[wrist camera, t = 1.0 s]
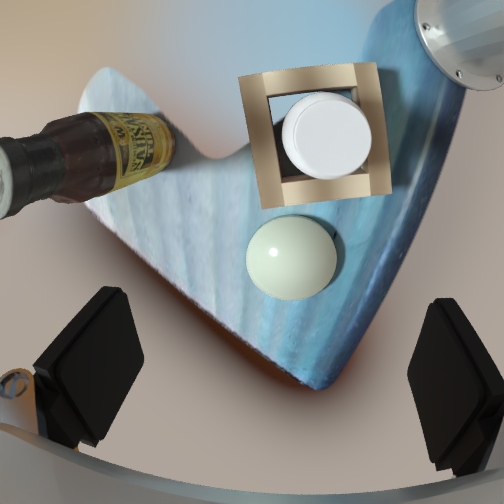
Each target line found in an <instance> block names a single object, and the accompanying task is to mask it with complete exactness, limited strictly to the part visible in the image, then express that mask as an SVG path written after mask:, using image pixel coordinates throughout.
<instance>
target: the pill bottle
mask: <svg viewBox="0 0 504 504" xmlns="http://www.w3.org/2000/svg"><path fill="white" fill-rule="evenodd" d="M282 142H283V146H284V149H285V151H286V153H287V155H288V157H289V159H290V160H291V161H292V163H293V164H294V165H295V166H296V167H297V168H298V169H299V170H301V171H302V172H304V173H305V174H307V175H309V176H311V177H314V178H317V179H323V180H334V179H339V178H343V177H345V176H347V175H350V174H351V173H353V172H354V171H356V170H357V169H358V168H359V167H360V166H361V165H362V164H363V162H364V161H365V160H366V158H367V156H368V154H369V152H370V149H371V142H372V136H371V130H370V126H369V123H368V121H367V118H366V116H365V115H364V113H363V112H362V110H361V109H360V108H359V107H358V106H357V105H356V104H355V103H354V102H353V101H351V100H350V99H348V98H346V97H344V96H342V95H339V94H336V93H330V92H319V93H314V94H311V95H308V96H306V97H304V98H302V99H300V100H299V101H298V102H296V103H295V104H294V105H293V106H292V107H291V109H290V110H289V111H288V113H287V115H286V117H285V119H284V122H283V127H282Z"/></svg>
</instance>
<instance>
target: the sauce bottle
mask: <svg viewBox="0 0 504 504" xmlns="http://www.w3.org/2000/svg"><path fill="white" fill-rule="evenodd" d="M174 153H175V136H174V134H173V131H172V129H171V128H170V126H169V125H168V124H166V123H165V121H163V120H161V119H160V118H159V117H157V116H154V115H151V114H144V113H112V112H84V113H80V114H76V115H72V116H69V117H65V118H61V119H58V120H54V121H52V122H50V123H47V125H46V126H45V127H44V128H43V130H42V131H41V132H40V133H39V134H34V135H32V136H30V137H23V138H19V139H14V138H11V137H2V138H0V220H1V219H4V218H6V217H9V216H14V215H16V214H17V213H18V212H19V211H20V210H21V209H22V208H23V207H24V206H26V205H28V204H30V203H33V202H35V201H38V200H40V199H41V200H44V199H47V198H51V199H52V200H54V201H55V202H58V203H61V202H62V203H68V204H69V203H81V202H84V201H88V200H90V199H92V198H94V197H100V196H103V195H105V194H108V193H110V192H113V191H115V190H118V189H121V188H123V187H126V186H128V185H131V184H133V183H136V182H138V181H140V180H143V179H146V178H149V177H151V176H153V175H156V174H157V173H159V172H160V171H162V170H163V169H165V168H166V167H167V166H168V164H169V163H170V162H171V160H172V158H173V156H174Z"/></svg>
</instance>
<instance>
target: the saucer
mask: <svg viewBox="0 0 504 504" xmlns="http://www.w3.org/2000/svg"><path fill="white" fill-rule="evenodd" d="M246 263H247V269H248V272H249V275H250V277H251V279H252V280H253V282H254V283H255V284H256V286H257V287H259V288H260V289H261V290H262V291H263V292H265V293H266V294H268V295H270V296H272V297H274V298H278V299H282V300H301V299H305V298H308V297H311V296H313V295H315V294H317V293H318V292H319V291H321V290H322V289H323V288H324V287H325V286H326V285H327V284H328V283H329V282H330V280H331V278H332V277H333V274H334V272H335V269H336V264H337V254H336V249H335V246H334V243H333V240H332V238H331V236H330V235H329V233H328V232H327V231H326V229H325V228H324V227H323V226H321V225H320V224H319V223H318V222H316V221H314V220H312V219H310V218H308V217H305V216H300V215H284V216H279V217H276V218H273V219H271V220H269V221H267V222H266V223H264V224H263V225H262V226H261V227H259V229H258V230H257V231H256V232H255V233H254V235H253V236H252V238H251V241H250V243H249V246H248V250H247V255H246Z"/></svg>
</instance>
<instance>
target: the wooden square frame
mask: <svg viewBox="0 0 504 504" xmlns="http://www.w3.org/2000/svg"><path fill="white" fill-rule="evenodd" d="M238 80H239V85H240V91H241V96H242V101H243V107H244V112H245V117H246V123H247V128H248V133H249V139H250V145H251V150H252V156H253V161H254V167H255V172H256V178H257V184H258V189H259V195H260V201H261V207H262V209H267V208H275V207H282V206H290V205H297V204H305V203H313V202H322V201H330V200H339V199H348V198H357V197H366V196H375V195H385V194H392V185H391V171H390V159H389V148H388V139H387V130H386V122H385V115H384V108H383V101H382V94H381V88H380V82H379V77H378V71H377V66H376V62H373V63H347V64H332V65H320V66H310V67H301V68H293V69H285V70H278V71H272V72H265V73H259V74H253V75H247V76H242V77H238ZM342 89H351V95H352V101H353V102H354V103H355V104H356V105H357V106H358V107H359V108H360V109H361V110H362V112H363V113H364V115H365V116H366V118H367V121H368V123H369V126H370V130H371V136H372V142H371V149H370V152H369V154H368V156H367V158H366V160H365V161H364V162H363V164H362V165H361V168H358V169H357V170H356V171H354V172H353V173H351V174H350V175H347V176H345V177H343V178H339V179H334V180H323V179H317V178H314V177H311V176H309V175H307V174H304V175H296V176H289V177H282V175H281V169H280V163H279V156H278V150H277V145H276V139H275V133H274V127H273V121H272V116H271V110H270V105H269V99H268V98H272V97H278V96H286V95H293V94H301V93H310V92H319V91H330V90H342Z"/></svg>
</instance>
